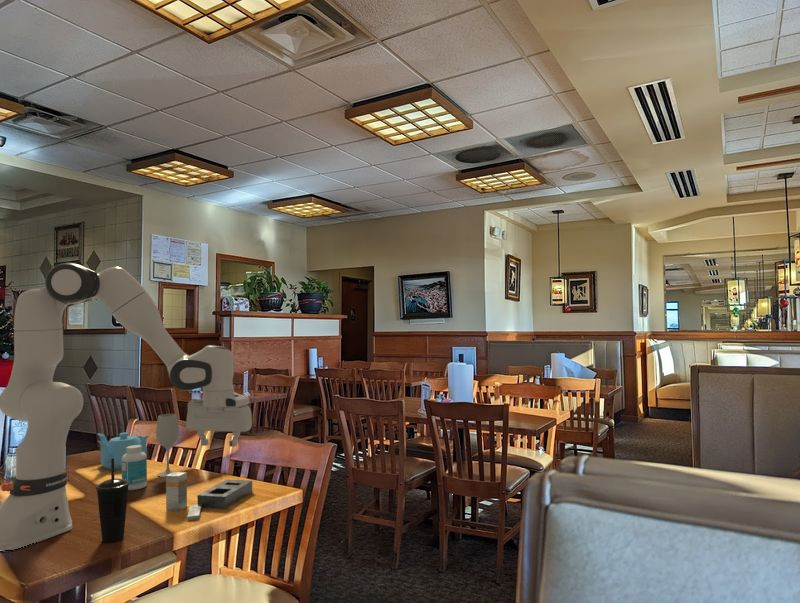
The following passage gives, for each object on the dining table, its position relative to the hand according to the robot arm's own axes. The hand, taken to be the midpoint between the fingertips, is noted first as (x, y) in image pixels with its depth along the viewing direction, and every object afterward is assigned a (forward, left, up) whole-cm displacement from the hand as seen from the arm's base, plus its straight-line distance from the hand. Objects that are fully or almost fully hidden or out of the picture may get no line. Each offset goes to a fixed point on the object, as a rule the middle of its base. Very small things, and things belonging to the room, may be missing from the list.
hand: (218, 445), depth 166 cm
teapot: (+34, +62, -17) cm, 72 cm away
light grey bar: (-10, +2, -17) cm, 20 cm away
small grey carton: (-6, +10, -17) cm, 21 cm away
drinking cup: (-29, +12, -17) cm, 36 cm away
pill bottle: (+10, +37, -17) cm, 42 cm away
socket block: (+4, 0, -17) cm, 17 cm away
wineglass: (+26, +36, -17) cm, 47 cm away
